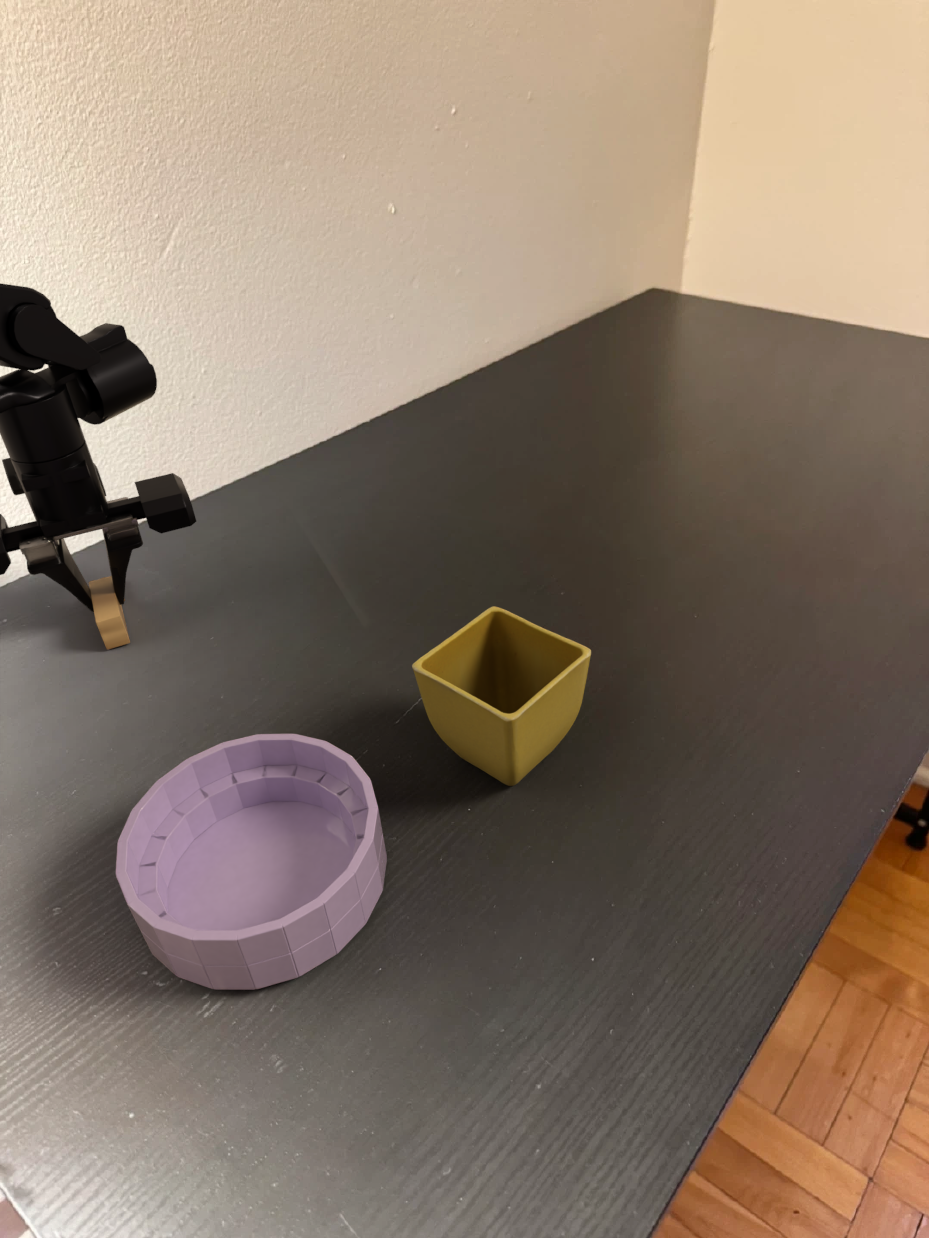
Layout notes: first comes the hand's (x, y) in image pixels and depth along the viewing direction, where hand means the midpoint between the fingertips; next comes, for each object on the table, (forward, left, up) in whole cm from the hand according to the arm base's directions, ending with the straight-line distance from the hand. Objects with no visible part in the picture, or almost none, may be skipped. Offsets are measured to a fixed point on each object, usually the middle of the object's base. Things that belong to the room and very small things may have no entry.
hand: (108, 605), depth 76 cm
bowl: (+29, -21, -1) cm, 35 cm away
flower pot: (+40, -6, -2) cm, 40 cm away
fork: (0, 0, -1) cm, 1 cm away
